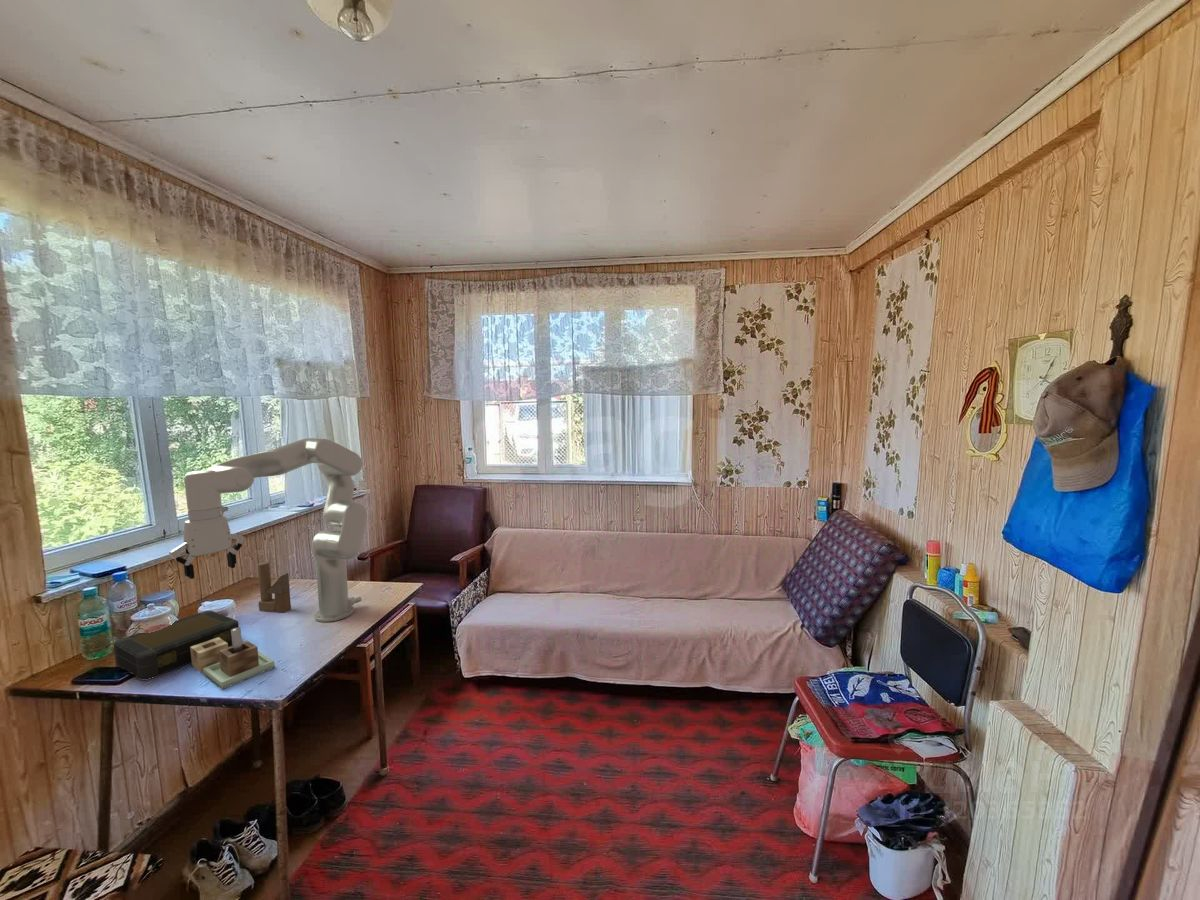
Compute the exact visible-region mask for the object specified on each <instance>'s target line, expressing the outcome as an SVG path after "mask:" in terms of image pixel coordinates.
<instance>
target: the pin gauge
mask: <svg viewBox="0 0 1200 900" xmlns="http://www.w3.org/2000/svg"><path fill="white" fill-rule="evenodd" d="M241 630H242V629H241V627H240V626H239V627H238V628H234V629H232V630H231V636H232V645H233V654H234V653H237V652H240V651H242V650H243V649H242V642H243V640H242V631H241Z"/></svg>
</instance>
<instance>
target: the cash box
mask: <svg viewBox="0 0 1200 900" xmlns="http://www.w3.org/2000/svg"><path fill="white" fill-rule="evenodd" d="M174 621H175V622H174V623H173V624H172V625H170V626H168V627H166V628H163V629H161V630H158V631H155V632H151V633H140V632H137V633H134V634H132V635H128V636H126V637H121V638H119V639H118V640H116V641H114V643H113V650H114V656H115V659H114V660H115V665H116V666H117V665H118V666H117V667H119V666H120V667H123V668H126V669H128V670H129V671H131V672H132V673H134V674H135V676H137V677H138V678H137V677H136V678H137V679H139V678H140V679H139V680H141V679H148V680H150V679H149V678H151V679H153V678H152V677H154V678H156V677H158V675H159V676H161V675H163V674H167V673H168V672H171V671H174V670H176V669H179V668H181V667H184V666H186V665H188V664H192V661H191V651H190V647H191V646H194V645H197V644H200V643H203V642H206V641H209V640H212V639H215V638H218V637H219V638H221V639H222V640H224V641H225V642H227V643H228V647H230V646H233V645H232V636H231V630H232V629H234V628H238V627H239V628H240V626H239V621H238V620H236V619H234V618H231V617H229V616H226V615H224V614H221V613H218V612H216V611H213V610H205V611H201V612H198V613H196V614H193V615H189V616H186V617H183V618H180V619H177V620H174ZM120 667H119V668H120ZM135 676H134V677H135ZM155 676H156V677H155Z"/></svg>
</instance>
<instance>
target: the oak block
mask: <svg viewBox="0 0 1200 900" xmlns="http://www.w3.org/2000/svg"><path fill="white" fill-rule="evenodd" d="M225 648H228V643H227V642H225V641H224V640H222V639H221V638H219V637H218V638H215V639H212V640H209V641H206V642H203V643H200V644H197V645H194V646H191V647H190V651H191V661H192V662H191V667H193V668H194V669H195V670H197V671H198V672H199V673H201V674H202V673H203V668H205V667H208V666H210V665H213V664H216V663H218V662H220V657H219V650H222V649H225Z"/></svg>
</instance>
